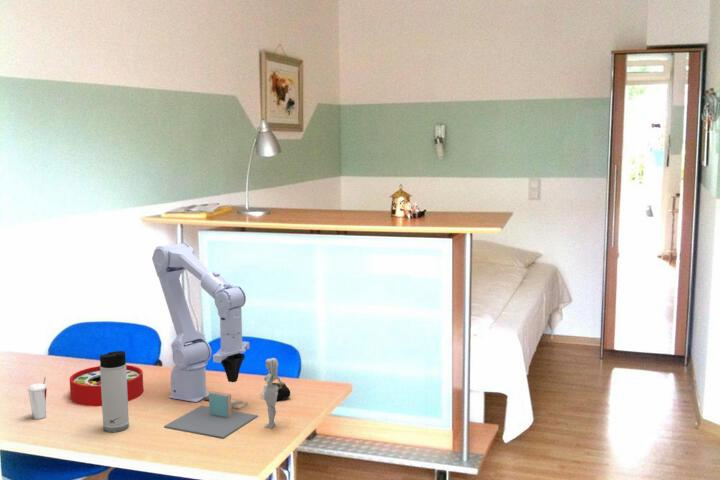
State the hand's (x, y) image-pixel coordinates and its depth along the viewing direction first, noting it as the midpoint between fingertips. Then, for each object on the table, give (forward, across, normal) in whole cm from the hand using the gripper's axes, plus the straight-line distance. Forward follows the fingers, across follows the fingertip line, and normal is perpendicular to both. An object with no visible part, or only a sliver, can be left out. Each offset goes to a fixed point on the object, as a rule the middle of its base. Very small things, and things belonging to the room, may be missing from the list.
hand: (232, 381), depth 204 cm
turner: (+8, +3, +5) cm, 10 cm away
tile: (+8, -6, 0) cm, 10 cm away
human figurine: (+8, -6, -16) cm, 19 cm away
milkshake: (+8, -25, +44) cm, 51 cm away
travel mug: (+8, -23, +20) cm, 32 cm away
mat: (+8, -10, 0) cm, 13 cm away
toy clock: (+8, -4, +40) cm, 41 cm away
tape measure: (+8, +14, -6) cm, 17 cm away
